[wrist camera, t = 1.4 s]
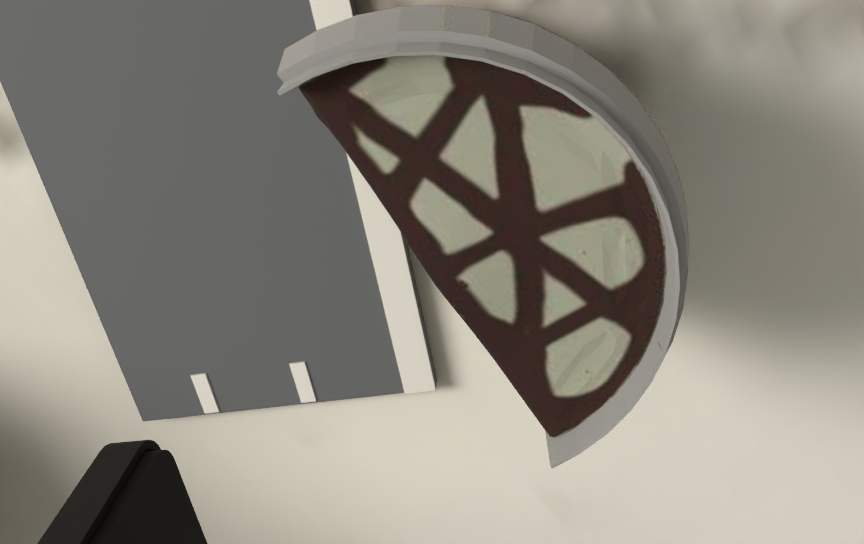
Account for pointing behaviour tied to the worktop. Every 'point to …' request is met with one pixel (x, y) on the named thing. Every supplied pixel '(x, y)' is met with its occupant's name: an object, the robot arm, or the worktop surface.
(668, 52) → the worktop surface
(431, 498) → the worktop surface
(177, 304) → the mat
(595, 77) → the food container
